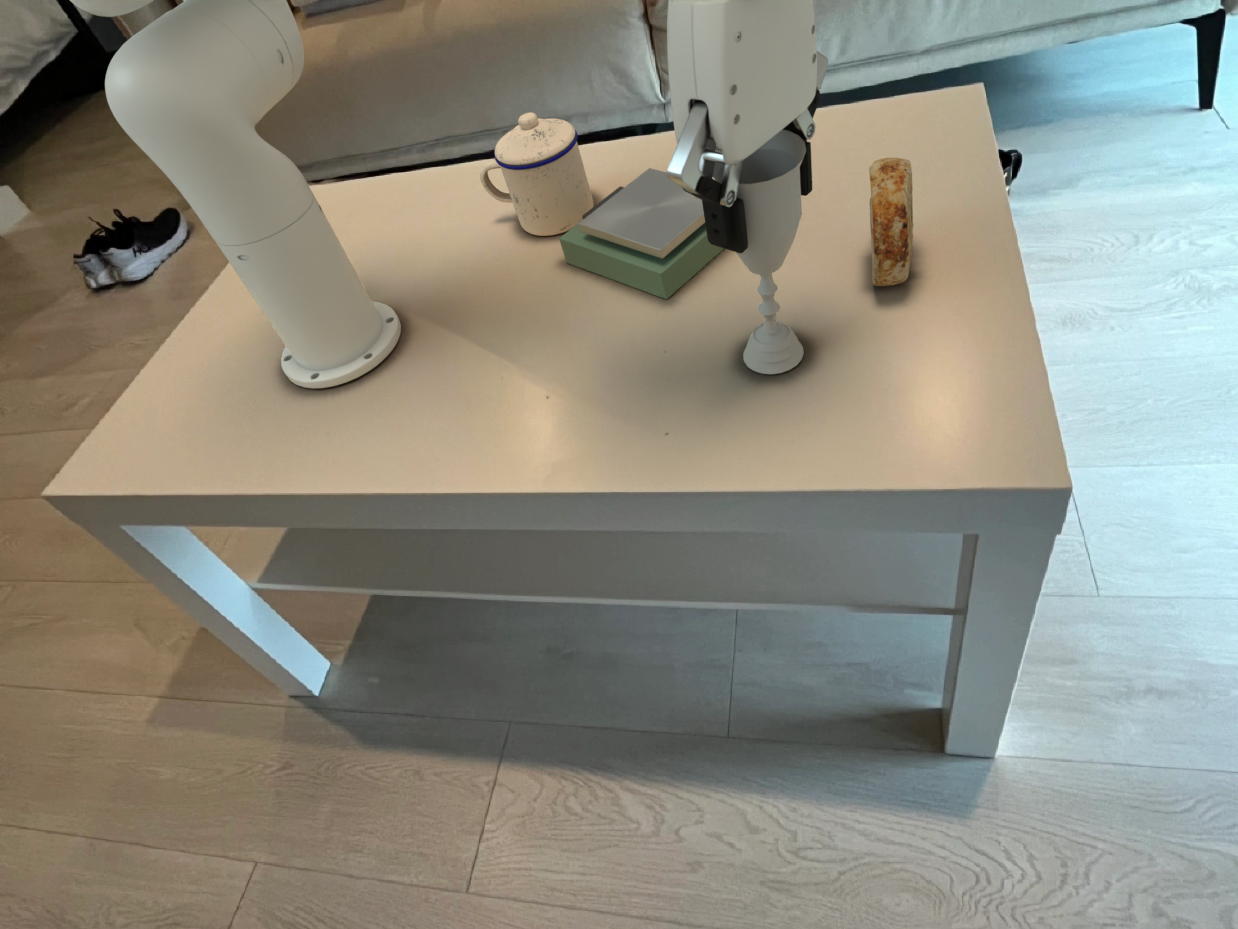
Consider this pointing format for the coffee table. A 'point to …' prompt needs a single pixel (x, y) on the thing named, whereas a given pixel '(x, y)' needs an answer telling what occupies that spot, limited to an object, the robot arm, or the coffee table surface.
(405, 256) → the coffee table surface
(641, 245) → the pan
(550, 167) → the teacup with lid
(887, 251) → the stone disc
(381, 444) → the coffee table surface
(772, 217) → the chalice
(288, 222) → the robot arm
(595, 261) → the scale
